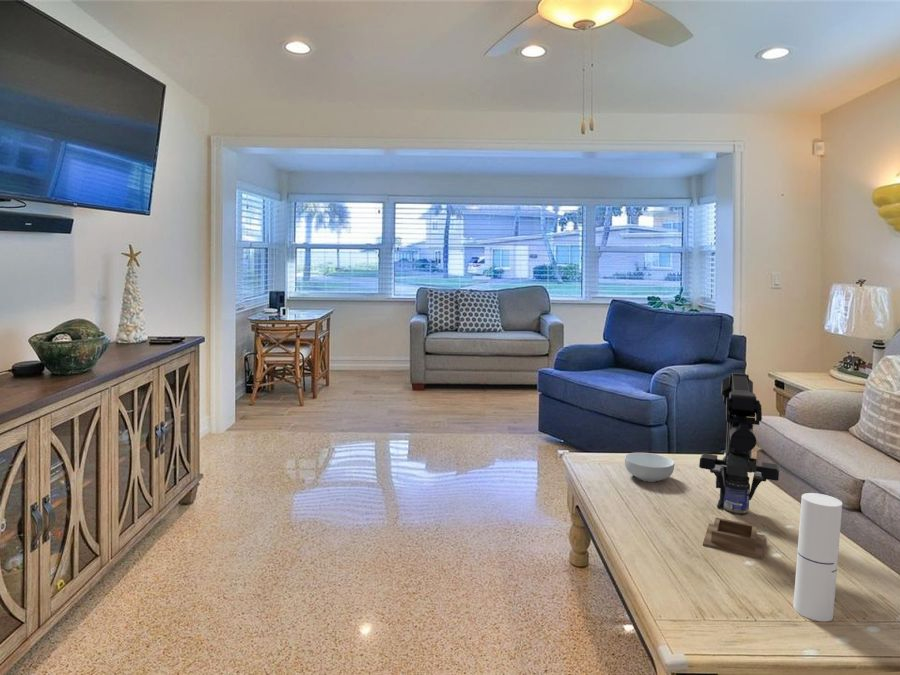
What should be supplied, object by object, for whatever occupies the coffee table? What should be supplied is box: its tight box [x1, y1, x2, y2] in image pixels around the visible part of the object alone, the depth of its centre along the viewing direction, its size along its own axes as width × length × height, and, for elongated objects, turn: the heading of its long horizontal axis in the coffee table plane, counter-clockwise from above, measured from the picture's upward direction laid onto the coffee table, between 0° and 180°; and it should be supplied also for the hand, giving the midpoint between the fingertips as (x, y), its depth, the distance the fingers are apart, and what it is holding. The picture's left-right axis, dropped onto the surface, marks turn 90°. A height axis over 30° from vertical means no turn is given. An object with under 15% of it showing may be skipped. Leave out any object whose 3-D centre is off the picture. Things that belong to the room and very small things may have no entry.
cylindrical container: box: [792, 492, 843, 622], centre depth 118 cm, size 7×7×25 cm
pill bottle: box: [723, 472, 751, 517], centre depth 149 cm, size 6×6×11 cm
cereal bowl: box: [624, 452, 675, 483], centre depth 198 cm, size 17×17×7 cm
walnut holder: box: [702, 517, 765, 560], centre depth 151 cm, size 14×14×4 cm
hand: (736, 497), depth 150 cm, fingers closed on pill bottle, 6 cm apart
